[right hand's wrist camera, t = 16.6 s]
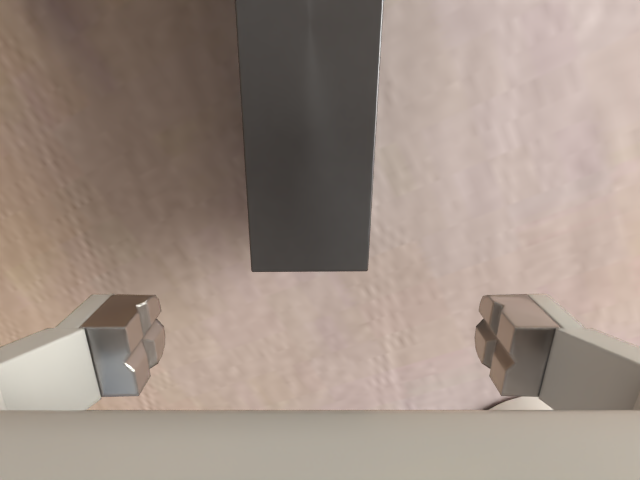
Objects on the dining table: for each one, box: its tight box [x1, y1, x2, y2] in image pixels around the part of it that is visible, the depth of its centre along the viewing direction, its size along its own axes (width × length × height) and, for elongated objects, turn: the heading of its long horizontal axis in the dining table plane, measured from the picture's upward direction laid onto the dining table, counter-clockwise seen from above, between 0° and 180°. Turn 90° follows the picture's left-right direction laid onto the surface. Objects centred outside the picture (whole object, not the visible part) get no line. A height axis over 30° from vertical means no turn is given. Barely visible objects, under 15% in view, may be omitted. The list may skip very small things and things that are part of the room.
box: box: [235, 0, 384, 272], centre depth 21 cm, size 23×6×9 cm, turn 0°
